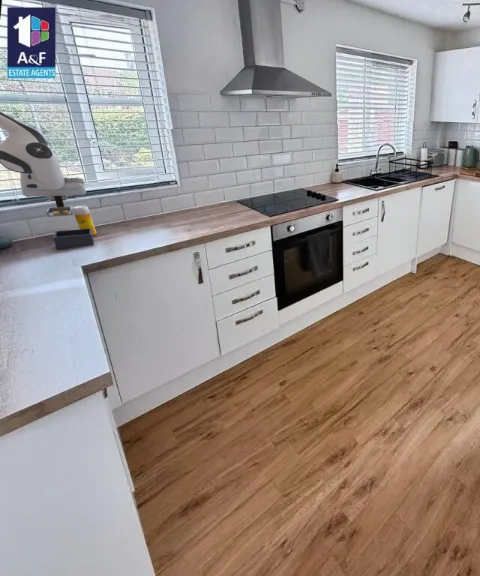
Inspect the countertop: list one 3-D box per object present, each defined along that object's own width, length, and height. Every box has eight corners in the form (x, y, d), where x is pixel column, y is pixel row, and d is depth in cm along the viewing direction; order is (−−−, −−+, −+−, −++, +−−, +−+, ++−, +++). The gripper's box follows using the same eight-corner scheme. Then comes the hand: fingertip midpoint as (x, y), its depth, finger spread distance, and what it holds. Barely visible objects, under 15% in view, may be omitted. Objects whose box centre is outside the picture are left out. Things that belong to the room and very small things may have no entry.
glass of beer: (80, 236, 186) (70, 207, 179) (94, 233, 190) (84, 204, 183) (85, 239, 183) (74, 209, 176) (99, 235, 187) (89, 206, 180)
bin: (57, 252, 162) (53, 237, 159) (59, 244, 171) (55, 231, 169) (94, 248, 169) (91, 234, 167) (94, 241, 179) (90, 228, 176)
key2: (68, 213, 153) (68, 212, 153) (61, 214, 152) (61, 212, 152) (69, 211, 158) (69, 209, 158) (62, 211, 157) (62, 210, 156)
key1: (59, 214, 151) (59, 213, 151) (51, 214, 150) (51, 213, 150) (60, 211, 156) (60, 210, 156) (53, 212, 155) (52, 211, 154)
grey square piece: (73, 215, 153) (66, 192, 149) (47, 216, 148) (40, 193, 145) (73, 210, 162) (68, 188, 159) (50, 211, 158) (43, 189, 154)
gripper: (81, 171, 154) (87, 192, 164) (14, 172, 142) (26, 194, 153) (84, 183, 152) (90, 203, 163) (16, 185, 141) (28, 207, 151)
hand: (58, 199), depth 158 cm, fingers closed on grey square piece, 2 cm apart
